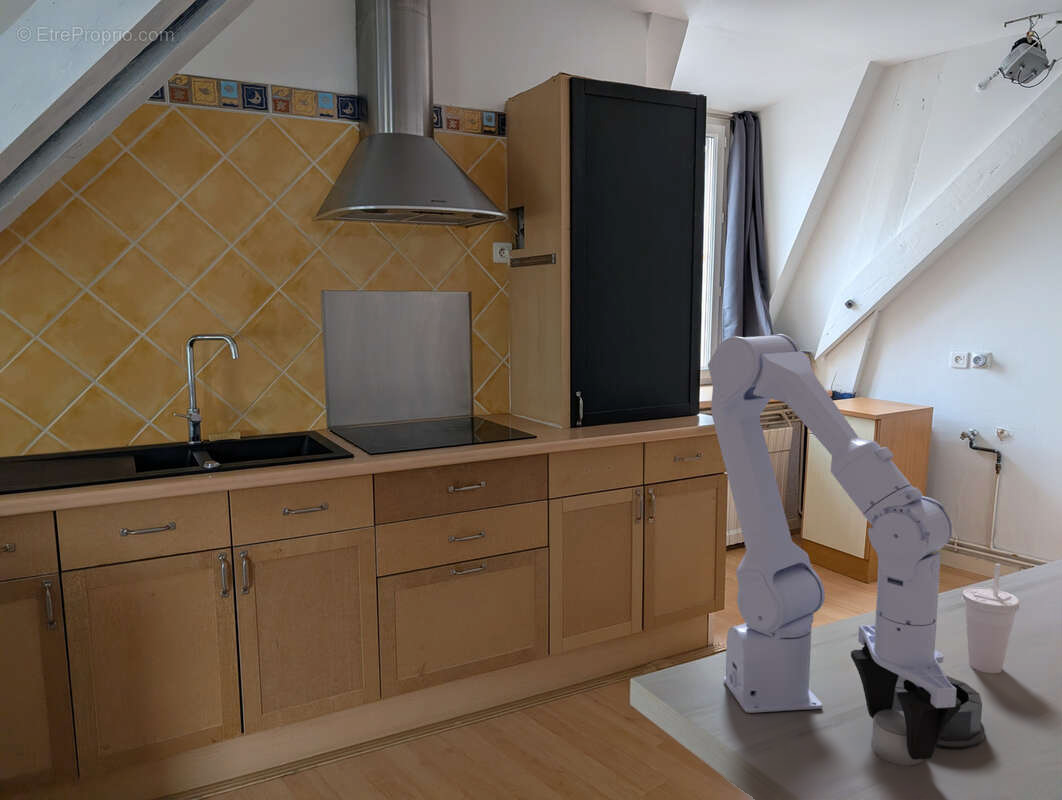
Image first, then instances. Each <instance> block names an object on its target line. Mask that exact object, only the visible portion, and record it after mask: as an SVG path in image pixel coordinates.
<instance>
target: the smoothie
mask: <svg viewBox="0 0 1062 800" xmlns="http://www.w3.org/2000/svg"><path fill="white" fill-rule="evenodd" d="M1000 571H1001V564H1000V563H995V564H994V576H993V588H991V587H990V588H989V587H983V586H982V587H981V586H980V587H979V586H977V587H968V588H965V589H963V591H962V596H961V600H962V601H963V602H964V610H965V624H966V639H967V652H968V664H969V666H970V667H971V668H972V669H975V670H976V671H979V672H982V673H987V674H998V673H1001V672H1002V670H1003V666H1004V662H1005V657H1006V654H1007V649H1008V645H1009V640H1010V637H1011V633H1012V628H1013V624H1014V621H1015V615H1016V612H1018V611H1019V610H1020V600H1019V598H1017V596H1015V595H1013V594H1011V593H1010V592H1007V591H1004V590H1000V589H999V585H1000V575H1001V572H1000Z"/></svg>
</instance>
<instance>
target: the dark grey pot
mask: <svg viewBox="0 0 1062 800" xmlns="http://www.w3.org/2000/svg"><path fill="white" fill-rule="evenodd" d="M945 676H946V678H947V679H948V681H949V682H950V683H951V684H952V685H953V686H954V687H955V688H956V689H957V690H956V697H957V698H958V699H959V700H960V701H961V709H960V710H959V711H958V712H957V713H956V714H955V715H954V716H953V717H952V718H951V719H950V721H949V722H948V723H947V725H946V726H945V728H944V729H943V731H942V733H941V735H940V737H939V740H938V742H937V745H936V747H935V748H939V749H944V750H945V749H946V750H968V749H973V748H976V747H977V746H979V745H981V744H982V743H983V741H985V740H984V739H985V733H986V731H985V726H984V724H983V723H982V711H983V702H982V698H981V694H980V693H979V692H978V691H976V690H975V689H974V688H972V687H971V686H970V685H968V684H967V682H964V681H961V680H959V679H956V678H954V677H950V676H948V675H946V674H945ZM917 687H918V686H916V685H915V684H914V683H913V682H911V681H909V680H907V679H905V678H903V677H901V676H899V677H898V680H897V684H896V688H895V694H894V701H893V707H892V710H899V711H903V709H902V706H901V704H900V701H899V699H898V697H897V692H910V691H915V692H917Z"/></svg>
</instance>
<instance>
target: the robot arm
mask: <svg viewBox="0 0 1062 800" xmlns="http://www.w3.org/2000/svg"><path fill="white" fill-rule="evenodd" d="M707 368H708V371H709V375H710V379H711V383H712V394H711V404H710V405H711V406H710V409H711V410H710V411H711V417H712V420H713V425H714V427H715V428H714V429H715V433H716V436H717V439H718V444H719V447H720V448H719V449H720V452H721V456H722V460H723V463H724V467H725V471H726V475H727V476H726V477H727V481H728V484H729V487H730V491H731V494H732V498H733V503H734V507H735V510H736V511H735V512H736V514H737V518H738V523H739V527H740V531H741V534H742V538H743V543H744V546H745V553H744V555H743V557H742V559H741V560H740V563H739V565H738V567H737V569H736V571H735V575H736V579H737V583H738V588H737V589H738V590H737V596H736V604H737V608H738V611H739V613H740V615H741V617H742V619H743V620H744V623H742V624H739V625H734V626H731V627H729V629H728V631H727V635H726V636H727V637H726V651H725V652H726V653H725V655H726V656H725V657H726V659H725V660H726V662H725V676H723V681H724V683H725V684H726V686H727V687H728V689H729V690H730V692H731V693H732V694H733V696H734V697H735V699H736V701H738V703H739V705H740V706H741V708H742V709H743V711H744V712H746V713H767V712H782V711H783V712H785V711H800V710H814V709H815V710H817V709H820V710H821V709H822V708H823V707H824V705H823V703H822V701H821V700H820V699H819V698H818V697H817V696H816V695H815V694H814V693H813V691H812V690H811V689H810V671H811V670H810V669H811V650H812V648H811V646H812V625H813V623H814V614H815V613H816V612H818V611H819V610H820V609H821V608H822V607H823V605H824V602H825V597H826V591H825V587H824V584H823V582H822V579H821V578H820V576H819V575H818V573H817V572H816V571H815V569H814V568H813V566H812V563H811V561H810V560H811V559H810V557H809V554H808V552H807V551H805V550H804V549H802V547H800V546H798V545H797V544H796V543H795V542H793V540H792V536H791V532H790V529H789V528H790V527H789V524H788V521H787V517H786V512H785V509H784V505H783V502H782V498H781V494H780V490H779V487H778V482H777V479H776V474H775V472H774V467H773V463H772V459H771V456H770V452H769V448H768V444H767V440H766V437H765V433H764V430H763V426H762V422H761V414H762V413H763V411H764V410H765V408H766V407H767V405H768V404H769V402H770V400H774V401H779V402H783V403H785V404H786V405H787V406H788V407H789V408H790V409H791V411H792V412H794V414H795V415H796V416H797V418H799V419H800V421H801V422H802V423H803V424H804V425H805V426H806V427H807V429H808V430H809V431H810V432H811V433H812V435H813V436H814V437H815V438H816V439H817V440H818V441H819V443H820V444H821V445H822V446H823V447H824V448H825V449H826V450H827V452H828V453H829V454H830V455H831V463H830V472H831V474H832V476H833V478H835V480H836V481H837V482H838V483H839V485H840V486H841V488H842V489H843V490H844V491H845V493H846V494H847V496H848V497H849V498H850V499H851V501H852V502H853V503H854V504H855V506H856V507H857V508H858V509H859V511H860V512H861V514H862V515H863V517H864V518H865V519H866V521H867V522H868V523H869V524H870V525H871V527H869V528H868V529H867V533H868V539H869V542H870V544H871V546H872V548H873V549H874V551H875V553H876V554H877V569H878V570H877V582H876V583H877V586H876V587H877V588H876V606H875V623H874V624H870V625H869V624H868V625H867V624H866V625H859V626H858V643H860V644H861V645H862V646H863V647H862V648H860V649H853V650H852V651H851V652H850V657H851V659H852V661H853V663H854V665H855V667H856V670H857V671H858V675H859V677H860V681H861V684H862V687H863V692H864V697H865V702H866V703H865V704H866V707H867V712H868V715H869V717H871V719H873V718H874V715H875V714H877V713H878V712H879V711H882V710H892V707H893V701H894V694H895V688H896V684H897V680H898V677H899V676H901V677H903V678H905V679H907V680H909V681H911V682H913V683H914V684H915V685H916V686H918V687H917V692H915V691H910V692H897V697H898V699H899V701H900V704H901V706H902V709H903V712H904V717H905V722H906V734H907V749H908V753H909V756H910V757H911V758H912V759H914V760H916V759H923V760H928V759H932V757H933V755H934V752H935V749H936V748H937V747H936V745H937V742H938V740H939V737H940V735H941V733H942V731H943V729H944V728H945V726H946V725H947V723H948V722H949V721H950V719H951V718H952V717H953V716H954V715H955V714H956V713H957V712H958V711H959V710H960V709H961V701H960V700H959V699H958V698H957V697H956V690H957V689H956V688H955V687H954V686H953V685H952V684H951V683H950V682H949V681H948V679H947V678H946V676H947V675H946V674H945V673H944V670H943V669H942V666H941V665H940V663H941V664H942V663H944V655H943V654H942V653H941V652H939V651H938V650H937V649H936V634H937V624H938V623H937V620H938V608H939V607H938V604H939V592H940V591H939V588H940V569H941V568H940V567H941V552H939V550H941V549H942V548H944V547H945V546H946V545H947V544H948V543H949V541H950V540H951V537H952V535H953V524H952V521H951V518H950V516H949V514H948V513H947V511H946V509H945V507H944V505H943V504H942V503H941V502H940V501H938V500H936V499H934V498H931V497H929V496H924V494H923V492H922V491H921V490H920V489H919V488H918V487H914V486H913V485H912V484H911V482H910V481H909V480H908V479H907V477H906V476H905V475H904V474H903V472H902V471H901V470H900V468H898V466H896V465H897V464H895V463H894V462H893V460H892V459H893V458H894V453H893V452H892V451H891V450H890V449H889V447H888V446H883V447H882V446H880V444H879V443H878V442H877V441H874V440H868V439H863V438H861V437H859V436H858V434H857V432H855V430H854V428H853V427H852V425H851V424H850V423H849V422H848V419H846V417H845V416H844V414H843V413H842V411H841V410H840V409H839V407H838V405H836V403H835V402H834V400H833V399H832V397H831V396H830V394H829V393H828V392H827V390H826V388H824V386H823V384H822V383H821V381H820V380H819V379H818V377H817V376H816V375H815V373H814V371H813V367H812V363H811V360H810V358H809V356H808V355H807V354H806V353H805V352H803V351H802V350H800V347H799V346H798V344H797V342H796V341H795V340H794V339H793V338H791V337H790V336H789V335H786V334H782V333H775V334H771V335H763V336H762V335H760V336H746V337H743V336H731V337H727V338H726V339H724V340H722V341H721V343H719V345H718V346H717V348H716V349H715V351H714V353H713V354H712V356H711V358H710V360H709V362H708V363H707ZM945 675H946V676H945Z"/></svg>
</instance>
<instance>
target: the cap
mask: <svg viewBox="0 0 1062 800" xmlns="http://www.w3.org/2000/svg"><path fill="white" fill-rule="evenodd" d="M871 735H872V737H871V749H872V751H873V752H874V753H875V754H876V755H877V756H879V757H880V758H881V759H883V760H885V761H887V762H889V763H893V764H897V765H899V766H901V765H902V766H915V765H919V764H920V763H922V762H923V761H924V759H916V760H914V759H912V758H911V757H910V756H909V753H908V749H907V734H906V722H905V717H904V712H903V711H899V710H882V711H879V712H878V713H877V714H875V715H874V718H872V734H871Z"/></svg>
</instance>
